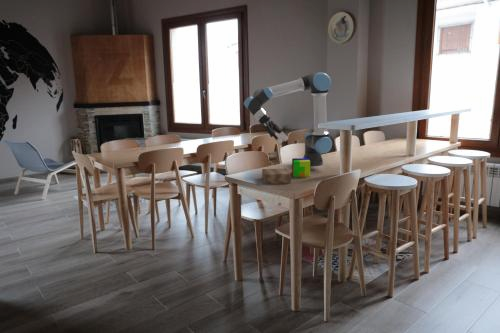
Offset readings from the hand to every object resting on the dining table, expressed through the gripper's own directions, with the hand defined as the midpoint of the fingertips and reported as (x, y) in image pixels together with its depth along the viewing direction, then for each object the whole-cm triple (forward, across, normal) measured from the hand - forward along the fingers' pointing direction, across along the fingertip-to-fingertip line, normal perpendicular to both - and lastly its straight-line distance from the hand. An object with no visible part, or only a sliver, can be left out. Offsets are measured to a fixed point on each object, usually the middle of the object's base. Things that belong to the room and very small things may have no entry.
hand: (284, 141), depth 253 cm
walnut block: (+16, +19, -15) cm, 29 cm away
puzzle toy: (+23, -1, -7) cm, 24 cm away
